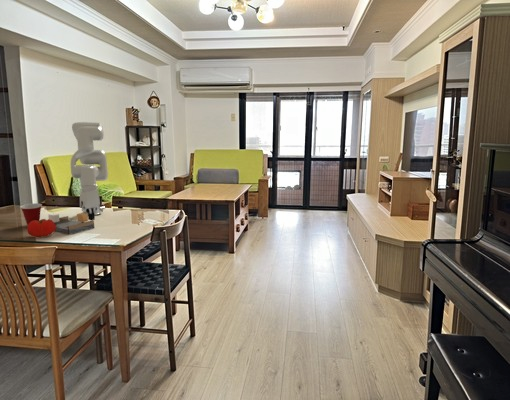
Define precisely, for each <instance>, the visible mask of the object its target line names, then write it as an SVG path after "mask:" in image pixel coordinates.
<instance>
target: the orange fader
mask: <svg viewBox="0 0 510 400" xmlns="http://www.w3.org/2000/svg"><path fill="white" fill-rule="evenodd" d="M76 221H80V222H81V223H83V222H88V221H89V218H88V215H87V214H85V213H82V212H80V213H76Z"/></svg>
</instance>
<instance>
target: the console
mask: <svg viewBox="0 0 510 400" xmlns="http://www.w3.org/2000/svg"><path fill="white" fill-rule="evenodd" d="M59 220H60V221H59V222H56V224H55V225H56V230H55V231H54V233H55V232H56V233H60V234H64V235H65V234H66V235H72V234H73V235H74V234H77V233H81V232H84V231H88V230H92V229H95V220H88V221H85V222H83V223H81V222H80V221H77V220H73V219H69V216H67V215H66V216H62V217H59Z"/></svg>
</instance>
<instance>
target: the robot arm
mask: <svg viewBox="0 0 510 400" xmlns="http://www.w3.org/2000/svg"><path fill="white" fill-rule="evenodd" d="M71 129H72V133H73V135H74V137H75V139H76V141H77V150H76V151H75V152H74V153H73V155H72V156H71V158H70V173H71V174H70V175H71V177H73V178H74V179H79V184H80V189H81V190H80V193H79V208H80V209H81V211H82V212H81V213H85V214H87V215H88V221H92V220H93V221H95V220H96V219H95V216H99V215H102V213H103V212H102V210H103V211H104V210H105V209H106V207H105V206H101V201H100V200H101V199H100V195H99V191H98V187H99V186H98V185H97V182H100V181H101V182H103V181H107V180H108V179H109V171H108V161H107V154H106V152H105V150H103V149H95V148H94V142H95V141H102V140H103V139H104V128H103V125H102V123H100V122H88V121H87V122H86V121H85V122H84V121H82V122H81V121H80V122H74V123H72V125H71ZM78 161H79V162H80V163H81V164H79V165H78V164H77V162H78ZM97 165H98V166H97Z"/></svg>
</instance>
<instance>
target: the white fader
mask: <svg viewBox="0 0 510 400" xmlns="http://www.w3.org/2000/svg"><path fill="white" fill-rule="evenodd" d="M47 216H48V217H47V218H48V219H50V220H52V221H53V222H54V223H55V224H56V222H59V221H60V220H59V218H60V214H59V213H53V212H52V213H49V214H48V215H47Z"/></svg>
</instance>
